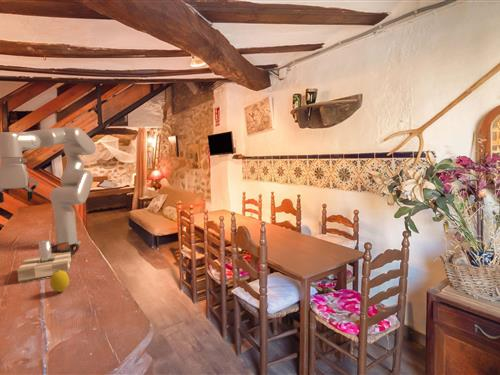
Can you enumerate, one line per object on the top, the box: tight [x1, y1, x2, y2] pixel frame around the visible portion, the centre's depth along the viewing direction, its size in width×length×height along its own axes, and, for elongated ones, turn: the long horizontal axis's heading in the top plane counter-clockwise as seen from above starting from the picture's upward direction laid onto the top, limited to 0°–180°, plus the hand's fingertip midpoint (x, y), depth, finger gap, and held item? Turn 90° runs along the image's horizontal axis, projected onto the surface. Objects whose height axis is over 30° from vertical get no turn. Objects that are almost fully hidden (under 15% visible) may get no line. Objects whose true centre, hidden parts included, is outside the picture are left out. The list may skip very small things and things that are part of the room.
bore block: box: [17, 252, 72, 284], centre depth 122 cm, size 16×16×5 cm
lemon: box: [50, 270, 70, 293], centre depth 103 cm, size 6×6×8 cm
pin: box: [38, 239, 53, 263], centre depth 122 cm, size 4×4×12 cm
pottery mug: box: [51, 242, 80, 258], centre depth 142 cm, size 12×10×8 cm
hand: (16, 201), depth 129 cm, fingers open, 9 cm apart
